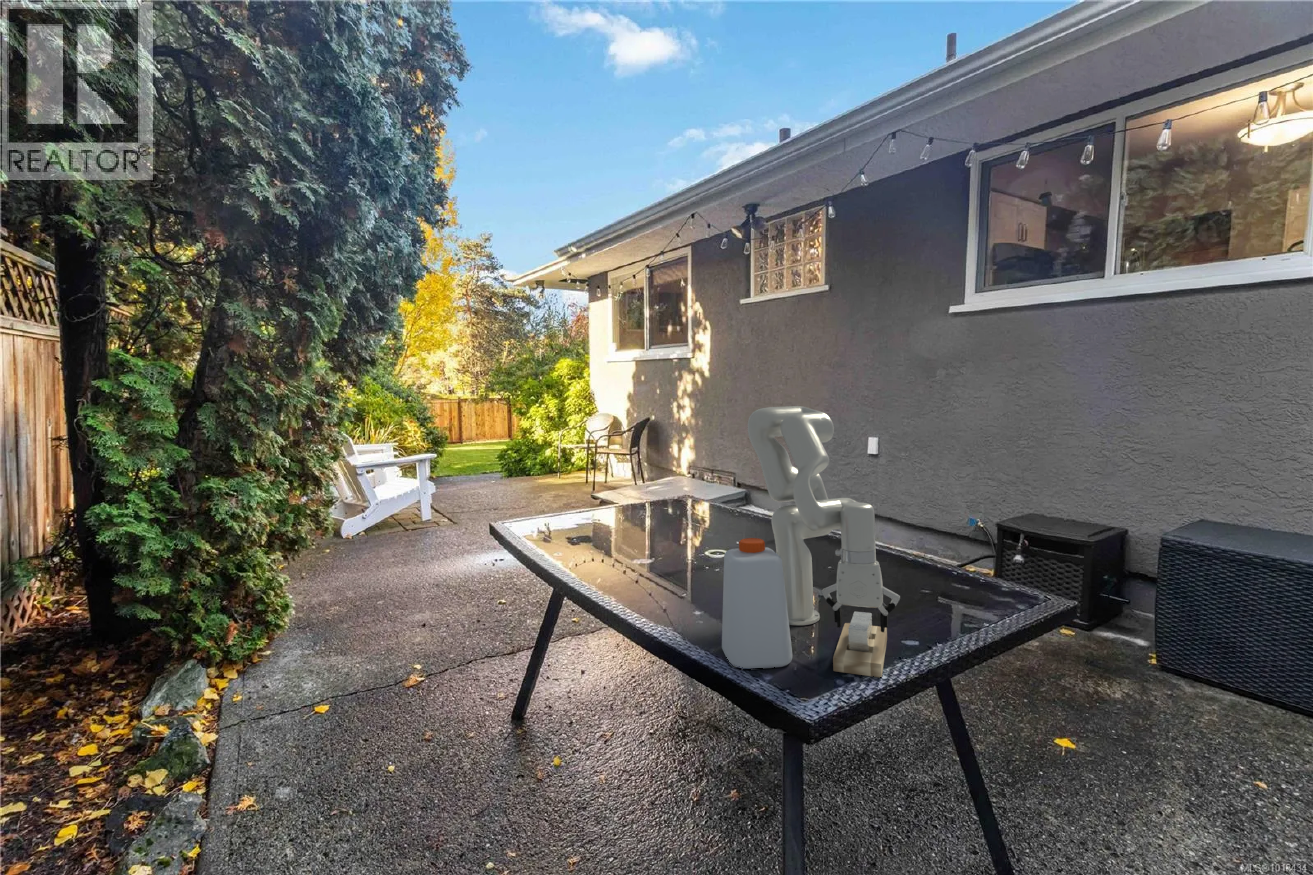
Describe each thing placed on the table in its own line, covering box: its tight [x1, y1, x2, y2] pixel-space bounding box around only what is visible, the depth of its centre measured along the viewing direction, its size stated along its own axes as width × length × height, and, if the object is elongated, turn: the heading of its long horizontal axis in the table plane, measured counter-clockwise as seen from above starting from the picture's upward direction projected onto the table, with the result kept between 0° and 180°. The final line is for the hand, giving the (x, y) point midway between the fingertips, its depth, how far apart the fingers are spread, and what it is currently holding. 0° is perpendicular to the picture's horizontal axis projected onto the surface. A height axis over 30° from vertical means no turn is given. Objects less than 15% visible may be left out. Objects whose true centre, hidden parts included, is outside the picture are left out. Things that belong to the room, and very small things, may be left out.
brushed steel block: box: [848, 611, 873, 653], centre depth 136 cm, size 4×12×8 cm, turn 155°
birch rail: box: [832, 622, 888, 678], centre depth 136 cm, size 10×22×3 cm, turn 155°
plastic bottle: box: [721, 537, 793, 669], centre depth 137 cm, size 15×15×28 cm
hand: (861, 627), depth 136 cm, fingers open, 9 cm apart
